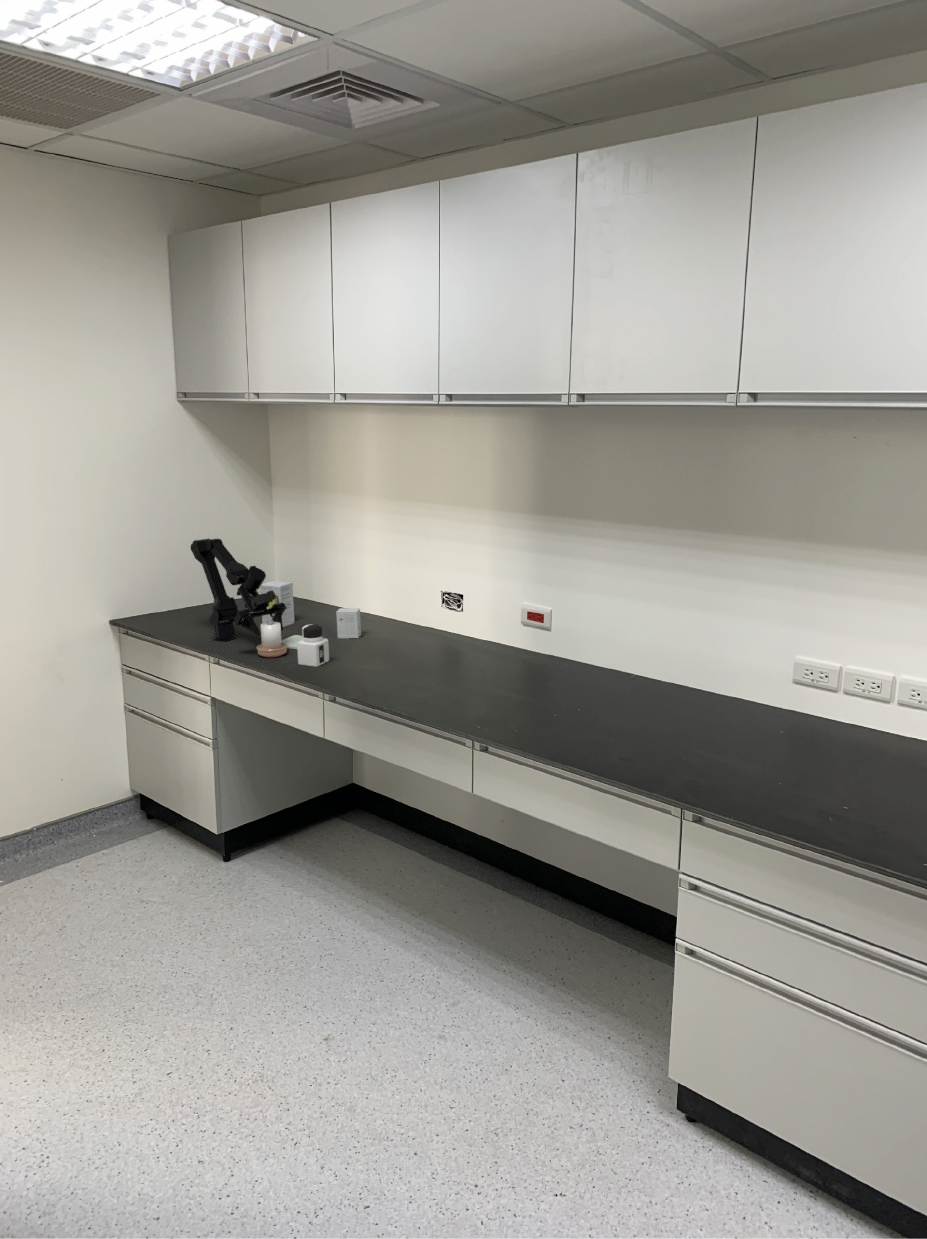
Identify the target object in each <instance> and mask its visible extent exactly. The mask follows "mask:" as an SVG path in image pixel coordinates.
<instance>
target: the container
mask: <svg viewBox="0 0 927 1239" xmlns="http://www.w3.org/2000/svg"><path fill="white" fill-rule="evenodd" d="M301 630H302V632H301V633H302V636H303V639H304V640H302V641H300V642H298V643H297V649H296V651H297V664H298V665H301V666H309V667H314V668H315V667H316V668H317V667H319V666H321V665H324V664H325V662H326V663H327V662H329V661H330V650H329V649H330V648H329V639H327V638H326V639H322V638H323V627H322V626H321V625H320V624H315V623H313V624H311V623H310V624H306V625H304V626H302V628H301Z"/></svg>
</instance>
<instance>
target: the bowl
mask: <svg viewBox="0 0 927 1239" xmlns="http://www.w3.org/2000/svg"><path fill="white" fill-rule="evenodd" d="M256 650H257V655H259V656H261V657H264V658H277V657H282V656H283V655H284V654H285V655H286V653H287V651H288V648H287V644H285V643H282V646H281V647H279V648H275V649H265V648H262V643H260V644H258V645H257V646H256Z"/></svg>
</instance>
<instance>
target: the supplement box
mask: <svg viewBox="0 0 927 1239" xmlns="http://www.w3.org/2000/svg"><path fill="white" fill-rule="evenodd" d="M293 584H294V583H293V582H292V581H290V582H289V581H282V580H280V581H278V580H271V581H268V582H265V583H262V584H261V586H260V594H265V593H267V592H268V591H272V590H273V592H274V593H275V596H276V598H275V599H274V600H273V601H272V602H270V603H269V606H268V607H267V609H270V608H272V606H273V604H276V603H281V602H282V603H284V604H285V605H286V607H287V608H286V610H285V611H284V613H283V614H282V625H283V628H285V627H287V626H290V625H292V624H295V610H294V609H295V607H294V588H293V587H294V586H293ZM261 617H262V618H261V619H262V621H261V622H262V623H266V622H267V621H273V620H272V617H271V616H270V614H269V615H264V616H261Z"/></svg>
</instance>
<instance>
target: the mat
mask: <svg viewBox="0 0 927 1239" xmlns="http://www.w3.org/2000/svg"><path fill="white" fill-rule="evenodd" d="M322 639H327V638H324V637H322ZM302 640H304V639H303V635H298V634H294V635H292V636H289V637H287V638H285V639H281V641H282V643H285V644H287V649H291V650H292V649H293V650H297V643H298V642H300V641H302Z"/></svg>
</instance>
